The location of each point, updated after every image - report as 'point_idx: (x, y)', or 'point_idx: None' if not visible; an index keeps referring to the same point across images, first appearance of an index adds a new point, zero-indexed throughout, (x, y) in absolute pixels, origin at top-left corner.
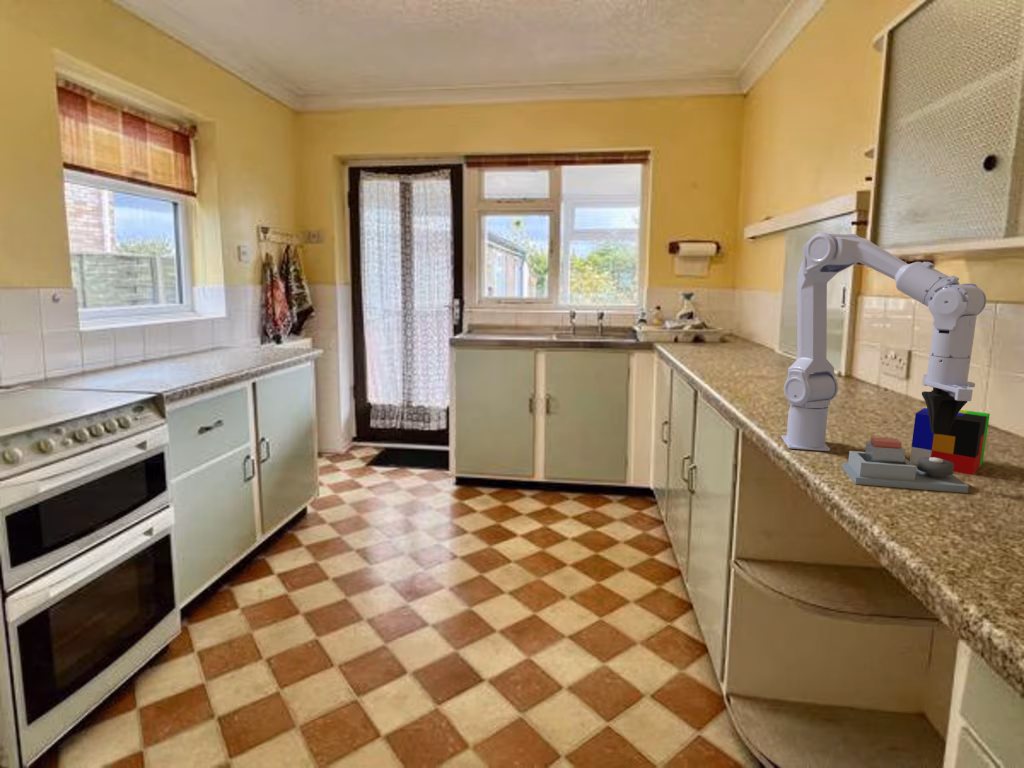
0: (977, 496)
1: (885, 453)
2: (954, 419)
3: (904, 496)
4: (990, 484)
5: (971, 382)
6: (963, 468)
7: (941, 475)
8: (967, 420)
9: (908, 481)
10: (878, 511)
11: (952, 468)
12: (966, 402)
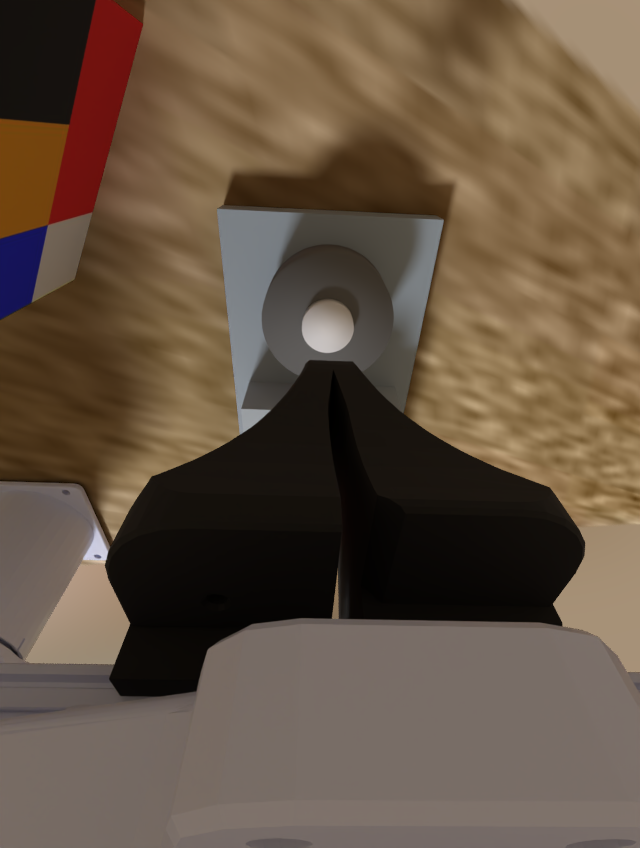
0: (471, 192)
1: None
2: (390, 402)
3: (469, 424)
4: (293, 5)
5: (429, 840)
6: (119, 70)
7: None
8: None
9: (404, 406)
10: (562, 500)
11: (375, 271)
12: (543, 490)
